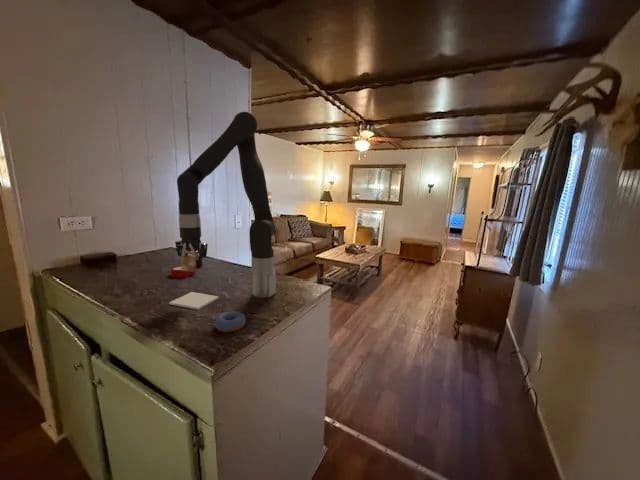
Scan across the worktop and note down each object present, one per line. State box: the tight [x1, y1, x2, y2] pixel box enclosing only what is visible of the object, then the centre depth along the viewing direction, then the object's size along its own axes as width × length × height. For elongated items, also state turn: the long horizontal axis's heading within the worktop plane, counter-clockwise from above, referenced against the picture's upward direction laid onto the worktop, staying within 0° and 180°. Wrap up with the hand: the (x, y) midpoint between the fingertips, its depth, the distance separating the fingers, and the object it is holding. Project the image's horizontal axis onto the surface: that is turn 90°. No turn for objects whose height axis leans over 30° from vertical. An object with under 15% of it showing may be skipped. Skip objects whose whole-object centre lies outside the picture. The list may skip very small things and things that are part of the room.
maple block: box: [180, 253, 204, 272], centre depth 109 cm, size 6×6×6 cm
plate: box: [168, 291, 220, 311], centre depth 112 cm, size 14×12×1 cm
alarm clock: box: [167, 264, 197, 279], centre depth 144 cm, size 10×6×15 cm
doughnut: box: [214, 310, 247, 333], centre depth 93 cm, size 10×10×5 cm
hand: (192, 267), depth 110 cm, fingers closed on maple block, 5 cm apart
